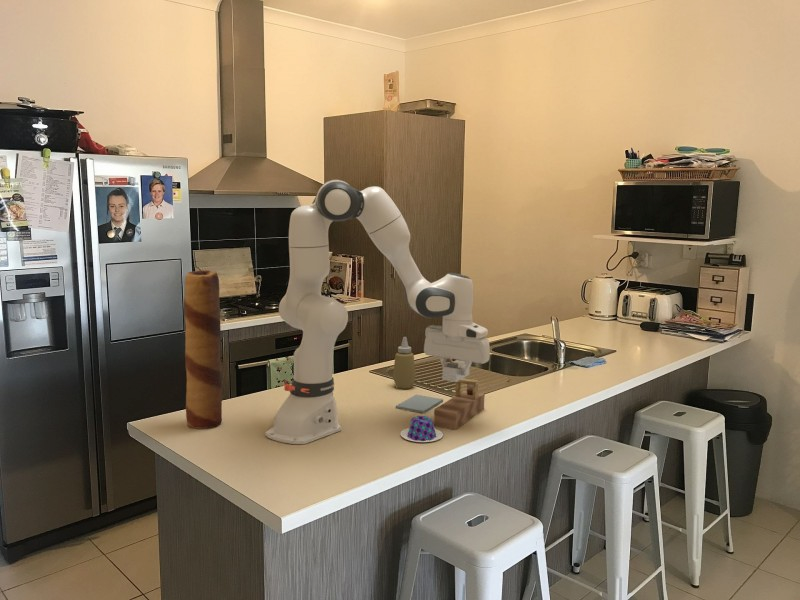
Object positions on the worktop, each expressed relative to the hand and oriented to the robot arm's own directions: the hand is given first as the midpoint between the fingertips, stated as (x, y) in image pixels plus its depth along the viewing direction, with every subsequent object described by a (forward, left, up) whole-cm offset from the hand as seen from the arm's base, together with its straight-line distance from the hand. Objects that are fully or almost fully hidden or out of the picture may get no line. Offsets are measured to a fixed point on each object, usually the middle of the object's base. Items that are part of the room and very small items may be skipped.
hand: (455, 373), depth 195 cm
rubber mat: (+8, +16, -15) cm, 23 cm away
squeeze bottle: (+23, +30, -15) cm, 40 cm away
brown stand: (+4, 0, -15) cm, 15 cm away
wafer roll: (-40, +62, -15) cm, 75 cm away
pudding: (-16, +3, -15) cm, 22 cm away
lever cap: (+1, 0, -1) cm, 2 cm away
